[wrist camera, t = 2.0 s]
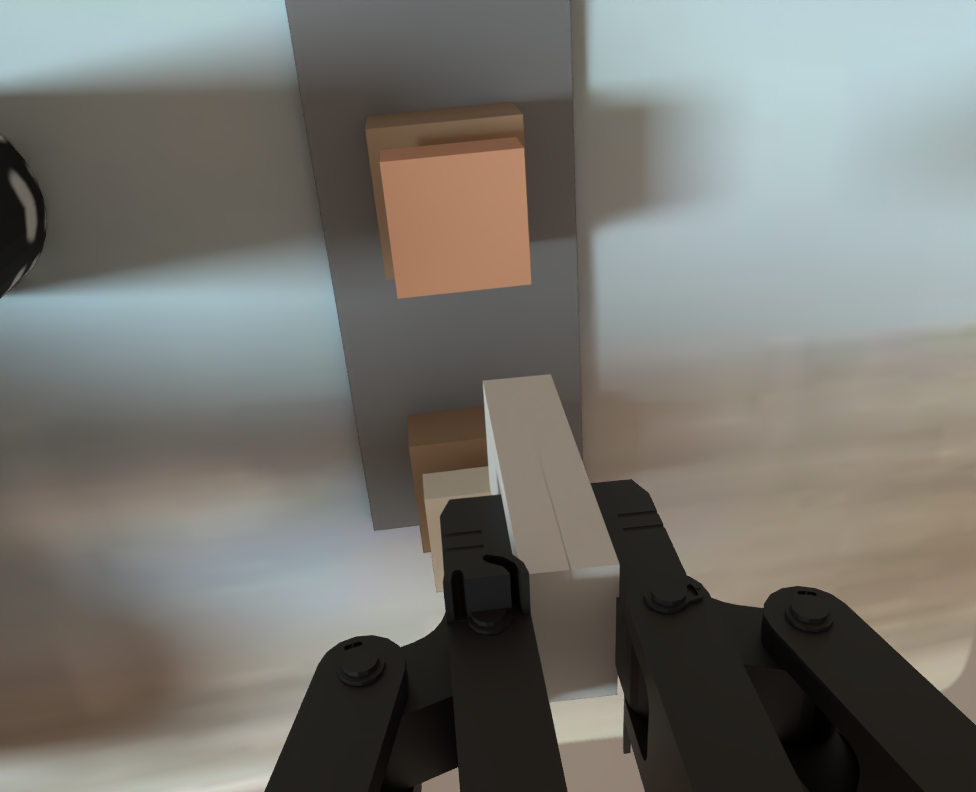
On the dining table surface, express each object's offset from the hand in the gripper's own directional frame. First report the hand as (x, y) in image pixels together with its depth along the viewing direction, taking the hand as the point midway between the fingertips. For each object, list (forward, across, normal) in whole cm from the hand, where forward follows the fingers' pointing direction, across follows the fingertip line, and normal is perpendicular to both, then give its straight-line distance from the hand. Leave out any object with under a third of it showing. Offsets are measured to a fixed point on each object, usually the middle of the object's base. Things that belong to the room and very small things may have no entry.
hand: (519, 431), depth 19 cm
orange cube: (+19, 0, +1) cm, 19 cm away
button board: (+21, 0, +1) cm, 21 cm away
